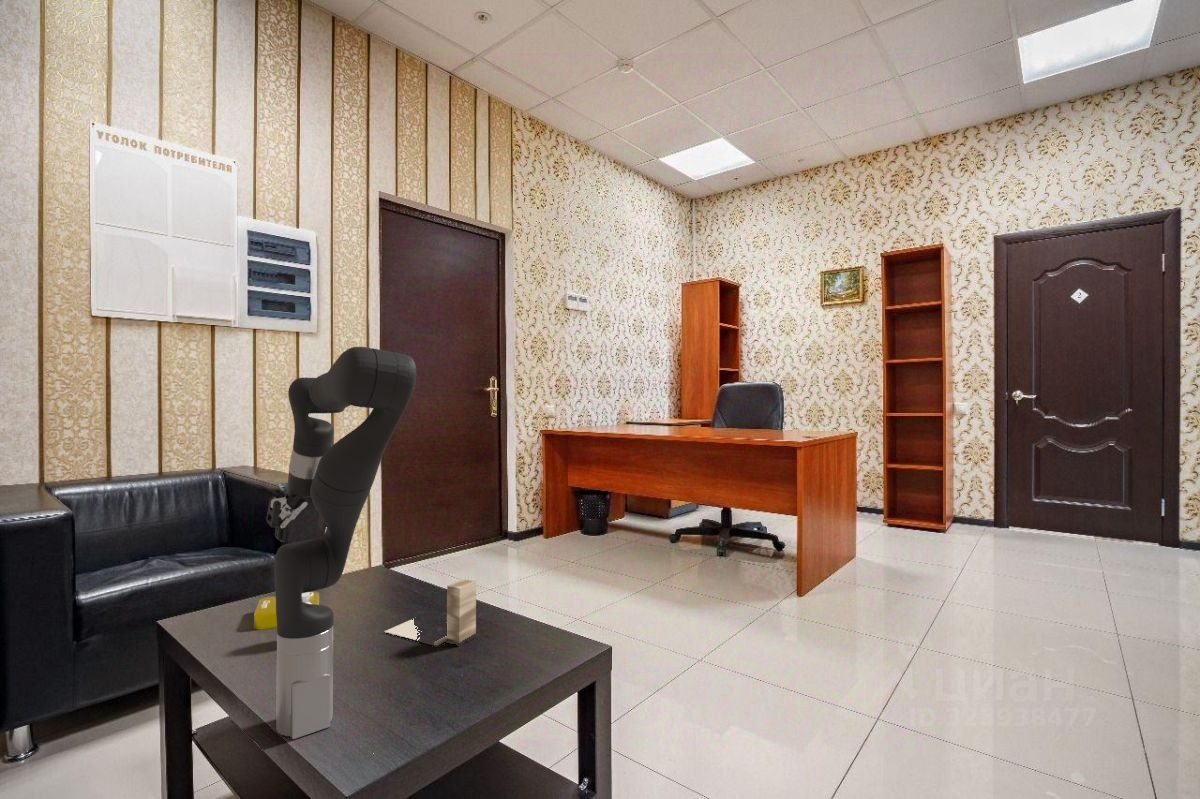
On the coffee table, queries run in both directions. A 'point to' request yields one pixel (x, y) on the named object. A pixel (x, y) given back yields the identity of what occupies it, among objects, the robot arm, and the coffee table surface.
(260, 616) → the element tile
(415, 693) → the coffee table surface
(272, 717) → the coffee table surface
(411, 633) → the mat
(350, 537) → the robot arm
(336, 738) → the coffee table surface
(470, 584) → the birch block
